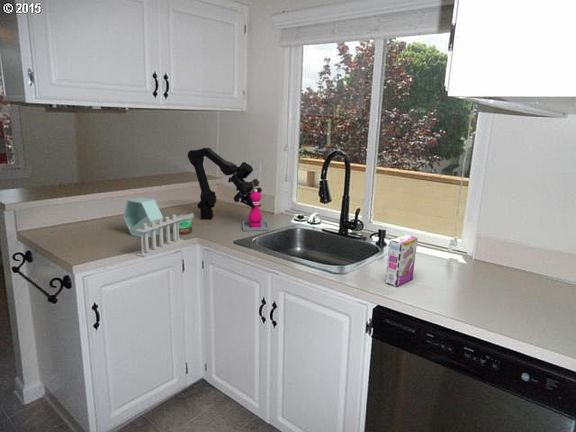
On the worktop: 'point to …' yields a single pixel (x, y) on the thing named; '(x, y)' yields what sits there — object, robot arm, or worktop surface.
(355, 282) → the worktop surface
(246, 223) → the slate tray
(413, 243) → the candy bar box
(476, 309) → the worktop surface
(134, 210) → the planter
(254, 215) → the pink bowling pin
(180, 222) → the food container
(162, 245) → the test tube rack
